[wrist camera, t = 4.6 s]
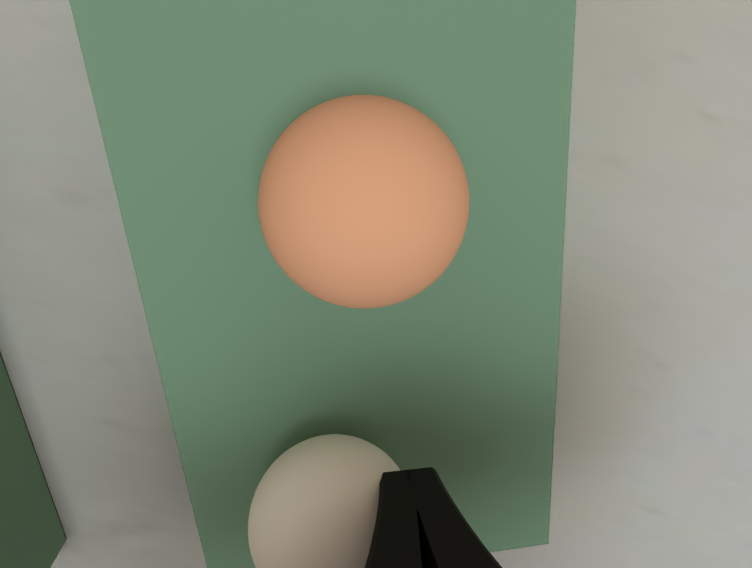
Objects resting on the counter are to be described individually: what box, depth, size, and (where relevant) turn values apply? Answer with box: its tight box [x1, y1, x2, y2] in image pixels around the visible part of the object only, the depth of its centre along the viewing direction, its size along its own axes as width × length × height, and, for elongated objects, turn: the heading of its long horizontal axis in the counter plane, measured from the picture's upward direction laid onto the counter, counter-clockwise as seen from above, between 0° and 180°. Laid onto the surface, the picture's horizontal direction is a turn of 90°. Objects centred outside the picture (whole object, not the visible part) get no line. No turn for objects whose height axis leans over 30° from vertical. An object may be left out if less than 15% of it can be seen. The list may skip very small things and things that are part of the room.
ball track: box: [0, 0, 576, 568], centre depth 14 cm, size 17×19×3 cm
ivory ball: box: [248, 434, 400, 568], centre depth 13 cm, size 4×4×4 cm
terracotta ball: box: [258, 95, 470, 309], centre depth 10 cm, size 4×4×4 cm
